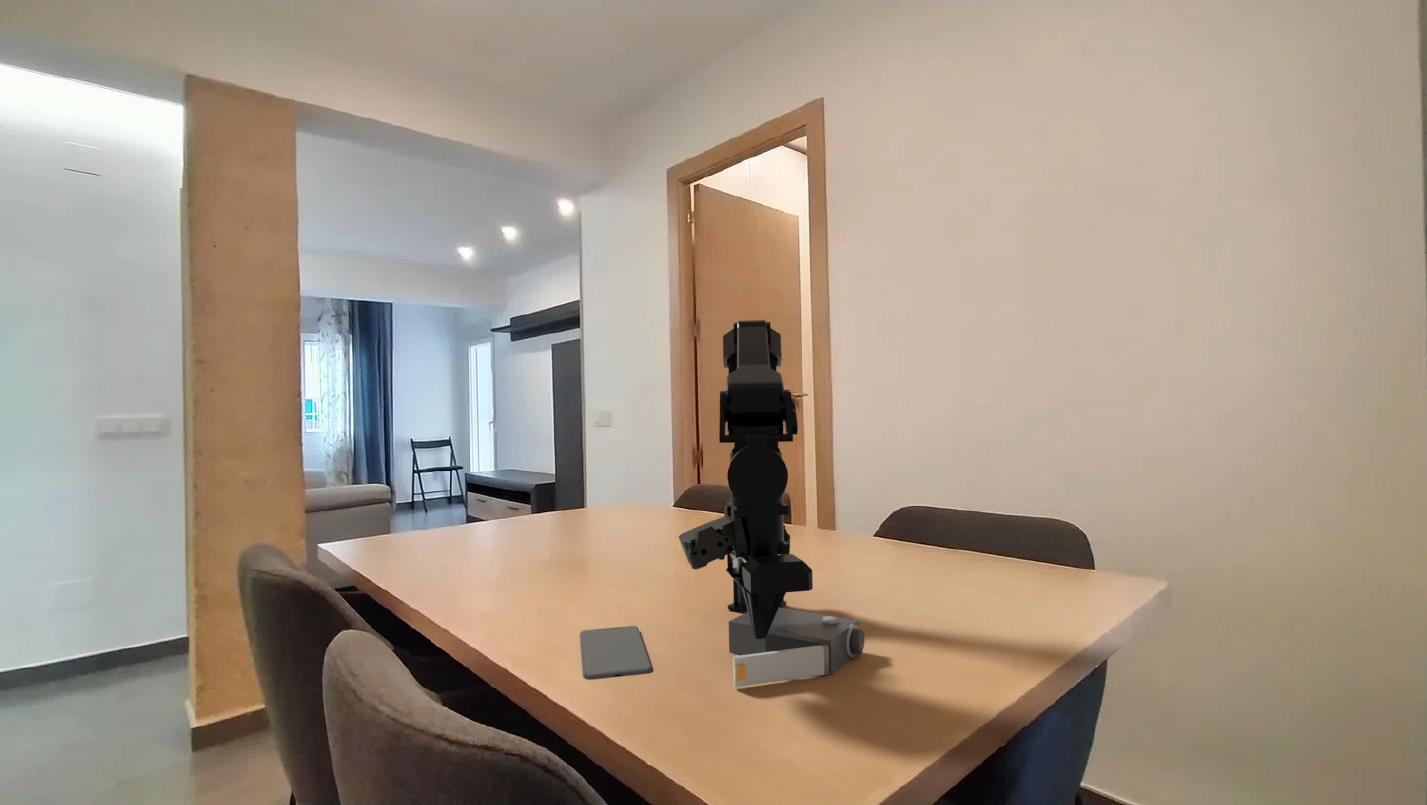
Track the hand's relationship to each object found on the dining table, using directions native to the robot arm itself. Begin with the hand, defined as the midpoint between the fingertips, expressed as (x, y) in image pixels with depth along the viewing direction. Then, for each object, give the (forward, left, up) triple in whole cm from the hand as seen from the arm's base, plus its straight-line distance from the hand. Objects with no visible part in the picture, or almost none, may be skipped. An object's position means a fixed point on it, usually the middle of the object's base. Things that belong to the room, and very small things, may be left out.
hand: (759, 638), depth 70 cm
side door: (+3, -1, -3) cm, 5 cm away
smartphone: (-18, -4, -4) cm, 19 cm away
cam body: (0, +7, -4) cm, 8 cm away
